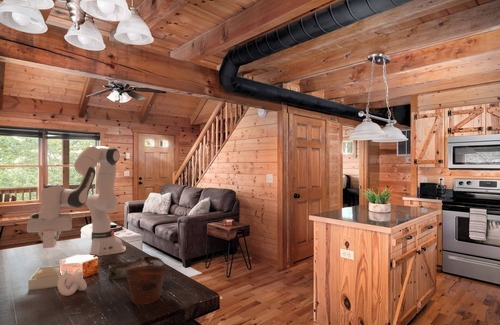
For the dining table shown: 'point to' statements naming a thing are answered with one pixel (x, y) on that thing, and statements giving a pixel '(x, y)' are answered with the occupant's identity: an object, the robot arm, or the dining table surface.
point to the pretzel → (71, 283)
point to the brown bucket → (145, 279)
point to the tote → (44, 280)
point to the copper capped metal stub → (49, 238)
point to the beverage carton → (118, 270)
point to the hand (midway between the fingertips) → (49, 239)
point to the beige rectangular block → (48, 273)
